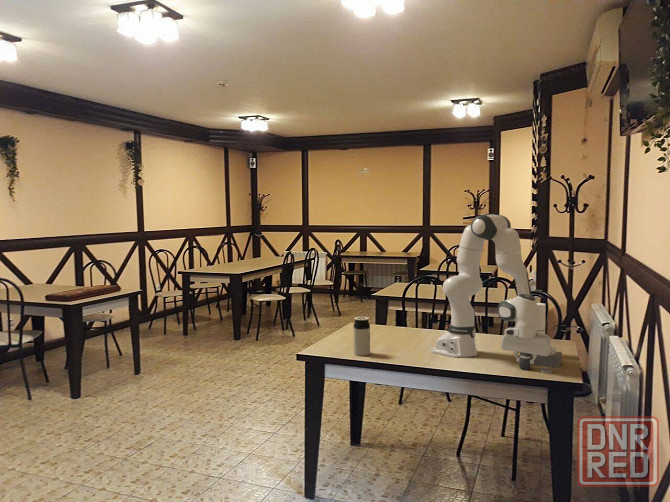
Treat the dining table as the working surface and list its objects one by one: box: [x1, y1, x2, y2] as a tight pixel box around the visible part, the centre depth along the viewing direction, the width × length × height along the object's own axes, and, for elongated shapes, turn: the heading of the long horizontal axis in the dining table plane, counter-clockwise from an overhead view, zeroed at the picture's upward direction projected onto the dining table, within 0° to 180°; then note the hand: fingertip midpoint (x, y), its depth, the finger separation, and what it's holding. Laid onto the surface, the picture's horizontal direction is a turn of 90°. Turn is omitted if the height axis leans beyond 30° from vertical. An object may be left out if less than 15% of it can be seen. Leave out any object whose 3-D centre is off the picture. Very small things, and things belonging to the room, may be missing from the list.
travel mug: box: [353, 316, 371, 357], centre depth 252 cm, size 8×8×18 cm
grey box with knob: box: [531, 345, 563, 369], centre depth 233 cm, size 12×9×8 cm
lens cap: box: [539, 367, 553, 374], centre depth 221 cm, size 5×5×1 cm
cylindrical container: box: [536, 302, 547, 334], centre depth 247 cm, size 7×7×25 cm
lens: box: [519, 352, 532, 370], centre depth 225 cm, size 4×4×7 cm
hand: (525, 362), depth 225 cm, fingers closed on lens, 4 cm apart
